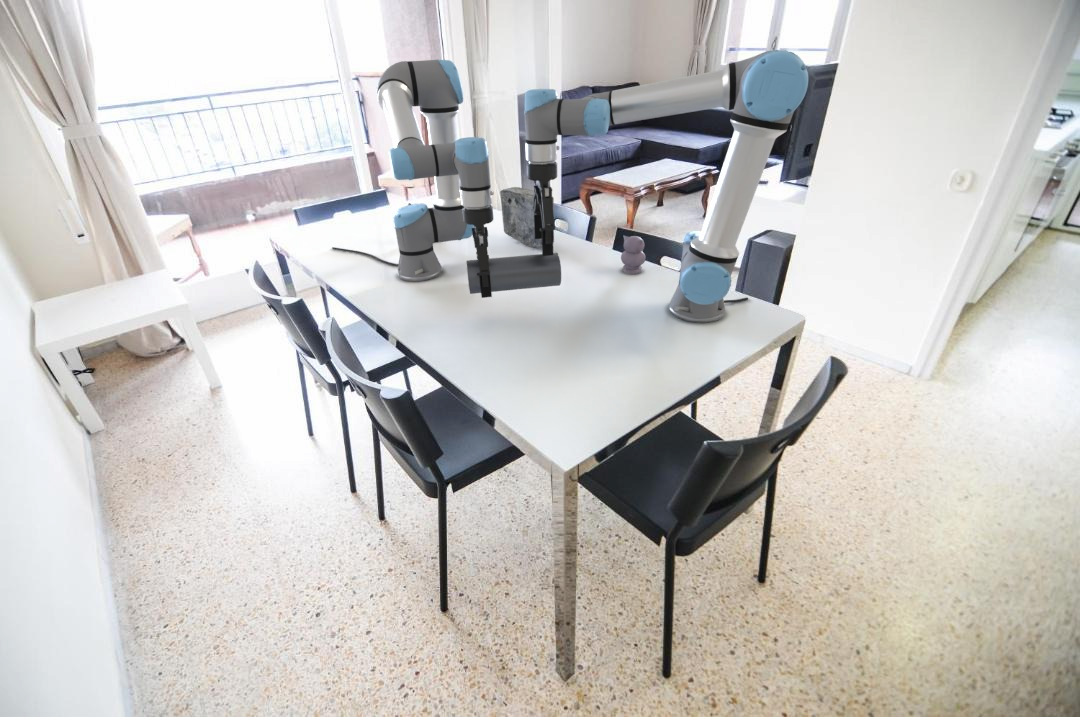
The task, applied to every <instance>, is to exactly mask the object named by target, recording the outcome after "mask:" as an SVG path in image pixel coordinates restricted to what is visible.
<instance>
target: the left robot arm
mask: <svg viewBox="0 0 1080 717" xmlns="http://www.w3.org/2000/svg"><path fill="white" fill-rule="evenodd" d="M376 85H377V86H376V98H377V102H378V105H379V106H380V108H381V110H383V111H384V114H385V118H386V121H387V124H388V128H389V133H390V135H391V138H392V143H393V147H392V148H390V149H389V151H388V155H389V156H388V157H389V161H390V168H391V172H392V175H393V178H394V179H395V180H396V181H407V180H409V181H413V180H419V179H428V178H434V184H435V192H436V193H435V194H436V197H435V198H434V200H433V201H432V203H433V207H428V205H427V204H425V203H413V204H412V203H411V205H408V204H407V205H404V206H402V207H399V208H398V209H397V210H395V211H394V213H393V216H392V219H393V228H394V229H395V235H396V241H397V247H398V251H399V259H398V263H394V262H389V261H386V260H384V259H381V258H379V257H377V256H376V255H373V254H370V253H367V252H364V251H359V250H353V249H348V248H347V249H346V248H340V247H336V246H335V247H333V246H332V247H331V249H332V250H336V251H342V252H349V253H355V254H360V255H364V256H367V257H370V258H373V259H375V260H377V261H378V262H380V263H383V264H386V265H390V266H393V267H397V276H398V278H399V279H400V280H402V281H406V282H413V283H414V282H425V281H429V280H432V279H435V278H438V277H439V276H440V275H441V274H442V273H443V268H442V264H441V263H440V260H439V259H438V256H437V254H436V252H435V250H434V244H438V243H445V242H452V241H461V240H467V239H470V238H471V237H472V238H473V244H474V248H475V249H476V251H475V253H476V260H478V262H479V273H477V276H478V275H479V278H480V287H481V293H480V296H481V299H485V298H492V297H493V296H492V295H493V294H492V293H493V292H491V282H490V271H489V262H488V259H490V255H489V254H488V247H489V239H488V237H489V231H488V226H485V225H487V224H490V223H492V222H493V221H494V208H493V206H492V203H493V199H492V196H494V195H495V192H494V190H492V188H491V187H492V184H491V172H490V160H489V158H490V152H489V150H488V142H487V140H486V139H485V138H484V137H478V136H468V137H462V138H461V137H460V138H458V137H457V127H456V115H457V114H458V113H459V112H460V109H459V108H460V107H459V105H461V104H463V103H464V91H463V86H462V81H461V77H460V73H459V71H458V69H457V65H455V62H453V61H452V60H449V59H439V58H437V59H428V60H427V59H426V60H402V61H401V60H400V61H398V62H395V63H393V64H391V65H390V66H389V67H387V68H386V69H385V70H384V71H383V73H382V74H381V75H380V77H379V80H378V82H377V84H376ZM413 107H419V109H420V113H421V115H422V116H423V117H425V119H426V124H427V132H428V141H429V144H425V141H424V139H423V136H422V132H421V129H420V127H419V123H418V120H417V118H416V114H415V111H414V108H413Z"/></svg>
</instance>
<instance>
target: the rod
mask: <svg viewBox="0 0 1080 717" xmlns="http://www.w3.org/2000/svg"><path fill="white" fill-rule="evenodd" d="M465 262H466V272H467V281H468V289H469V290H468V291H469V294H470V295H474V294H475V295H476V294H481V287H480V278H479V275H478V276H477V273H479V262H478V259H470V260H468V259H467V260H465ZM488 262H489V271H490V282H491V293H494V292H495V293H496V292H505V291H517V290H527V289H538V288H547V287H558V286H561V284H562V265H561V258H560V255H559V253H558V252H553V255H549V256H543V255H542V253H537V254H527V255H526V254H525V255H515V256H504V257H491V258H490V257H489V259H488Z"/></svg>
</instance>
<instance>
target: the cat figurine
mask: <svg viewBox="0 0 1080 717" xmlns="http://www.w3.org/2000/svg"><path fill="white" fill-rule="evenodd" d="M623 249H624V250H623V252H622V253H621V255H620V260H621V262H622V264H623V265H622V273H624V274H628V275H637V274H640V273H642V265H644V264H645V262H646V254H645V253H644V252H643V251H644V249H645V242H644V239H642V238H641V236H637V235H631V236H627V235H624V234H623Z"/></svg>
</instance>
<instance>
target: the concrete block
mask: <svg viewBox="0 0 1080 717" xmlns="http://www.w3.org/2000/svg"><path fill="white" fill-rule="evenodd" d="M533 190H534V189H530V188H524V187H519V186H513V187H507V188H503V189H501V190H500V191H499V193H500V203H501V218H502V225H503V232H504V234H505V235H507V236H508V237H510V238H512V239H514V240H515V241H517V242H520V243H521V244H522V245H525V246H528V247H530V248H536V249H539V248H541V249H542V239H535V232H534V215H536V214H534V212H533V211H534V210H533V208H532V207H533ZM554 201H555V200H554V196H552V202H553V214H554V215H555V209H554V208H555V203H554ZM547 225H550V224H547ZM554 243H555V230H553V244H554Z"/></svg>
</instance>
